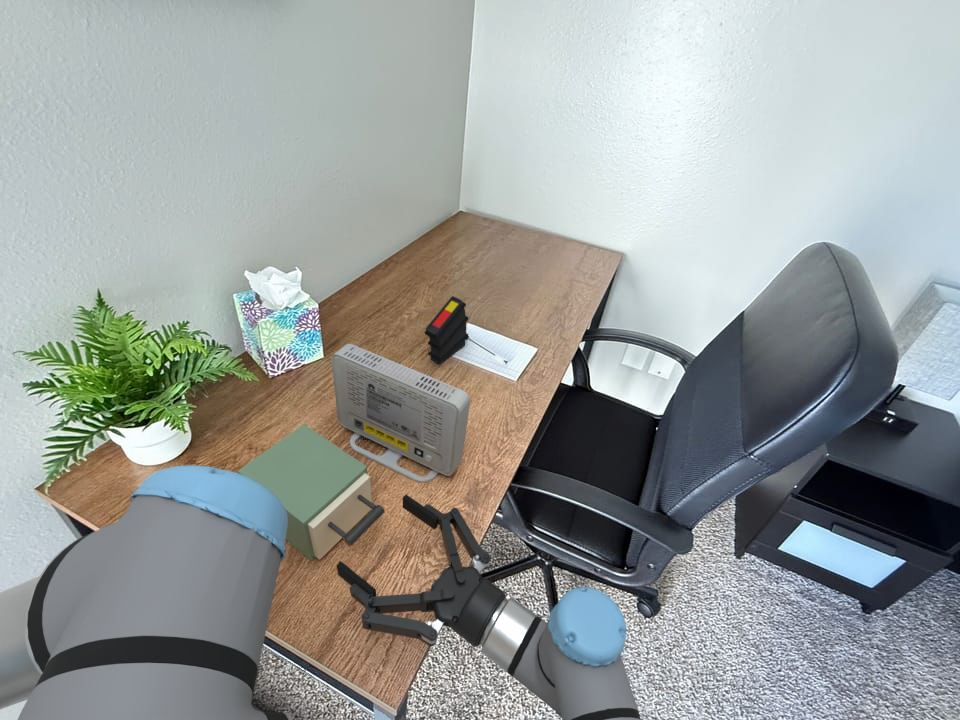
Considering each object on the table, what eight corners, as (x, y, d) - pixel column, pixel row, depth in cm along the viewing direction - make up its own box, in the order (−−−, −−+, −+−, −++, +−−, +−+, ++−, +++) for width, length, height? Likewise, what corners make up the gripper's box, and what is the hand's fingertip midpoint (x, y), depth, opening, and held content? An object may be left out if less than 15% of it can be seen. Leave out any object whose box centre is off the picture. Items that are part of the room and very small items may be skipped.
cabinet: (369, 505, 80) (367, 466, 74) (311, 561, 72) (303, 523, 65) (311, 463, 86) (304, 423, 79) (250, 510, 77) (237, 471, 70)
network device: (466, 462, 90) (477, 386, 78) (444, 495, 84) (452, 418, 71) (357, 412, 97) (352, 335, 85) (329, 439, 91) (319, 360, 78)
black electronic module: (474, 335, 120) (464, 300, 108) (445, 374, 116) (431, 342, 103) (463, 329, 122) (451, 294, 109) (433, 367, 117) (418, 335, 104)
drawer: (394, 524, 77) (394, 492, 72) (343, 579, 69) (338, 548, 64) (316, 468, 84) (311, 435, 78) (261, 512, 76) (251, 479, 71)
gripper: (433, 726, 55) (309, 614, 62) (533, 562, 72) (425, 491, 80) (437, 706, 50) (302, 588, 58) (542, 536, 67) (427, 463, 75)
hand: (373, 531), depth 69 cm, fingers open, 13 cm apart
